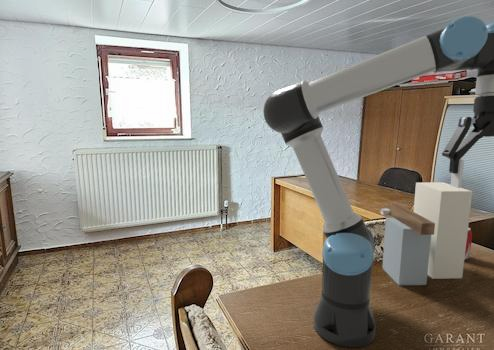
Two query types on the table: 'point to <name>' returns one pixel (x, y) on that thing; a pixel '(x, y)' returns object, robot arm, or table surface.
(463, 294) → the table surface
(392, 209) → the brown wooden beam
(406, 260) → the tall pale gray pillar
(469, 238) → the soda can
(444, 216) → the tall cream rectangular block
